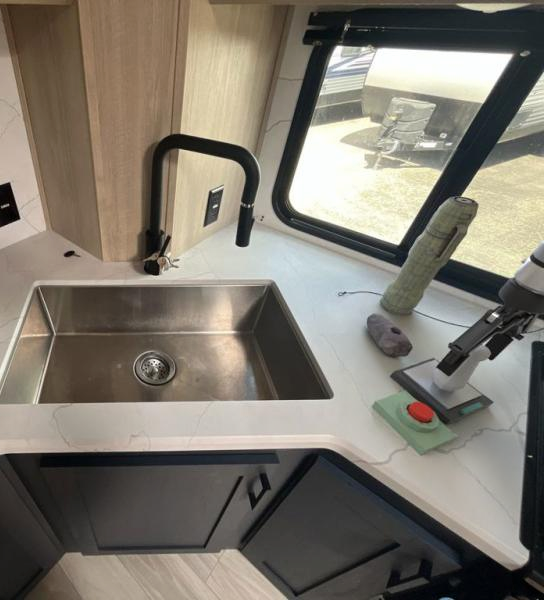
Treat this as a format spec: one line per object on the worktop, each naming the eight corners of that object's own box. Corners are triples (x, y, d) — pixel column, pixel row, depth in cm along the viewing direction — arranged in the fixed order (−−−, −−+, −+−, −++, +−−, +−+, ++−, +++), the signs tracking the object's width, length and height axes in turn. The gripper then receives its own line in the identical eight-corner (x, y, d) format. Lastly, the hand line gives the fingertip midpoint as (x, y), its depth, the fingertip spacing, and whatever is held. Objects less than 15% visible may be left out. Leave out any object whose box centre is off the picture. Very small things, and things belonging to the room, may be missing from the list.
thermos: (391, 318, 98) (464, 209, 76) (371, 294, 107) (431, 191, 85) (421, 319, 98) (502, 210, 76) (398, 295, 107) (465, 191, 85)
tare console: (451, 441, 68) (463, 431, 66) (420, 455, 66) (431, 446, 63) (400, 395, 77) (408, 385, 74) (371, 406, 75) (379, 396, 72)
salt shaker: (423, 373, 78) (456, 336, 70) (447, 374, 78) (483, 337, 70) (439, 394, 74) (476, 357, 66) (465, 395, 74) (505, 357, 65)
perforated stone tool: (357, 323, 96) (367, 305, 92) (374, 323, 96) (385, 305, 92) (385, 362, 85) (398, 344, 80) (405, 362, 85) (419, 344, 80)
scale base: (488, 407, 75) (496, 400, 73) (445, 425, 71) (452, 419, 69) (429, 362, 85) (435, 355, 83) (389, 376, 81) (394, 370, 80)
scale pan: (480, 396, 74) (482, 394, 74) (446, 410, 72) (448, 408, 71) (433, 361, 82) (435, 359, 82) (401, 373, 80) (403, 370, 79)
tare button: (434, 419, 68) (438, 415, 67) (420, 425, 67) (425, 420, 66) (416, 403, 71) (420, 399, 70) (402, 409, 70) (407, 404, 69)
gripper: (555, 263, 64) (483, 338, 77) (469, 287, 57) (407, 364, 70) (608, 284, 58) (521, 361, 71) (519, 313, 52) (442, 392, 65)
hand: (464, 363), depth 71 cm, fingers open, 13 cm apart
